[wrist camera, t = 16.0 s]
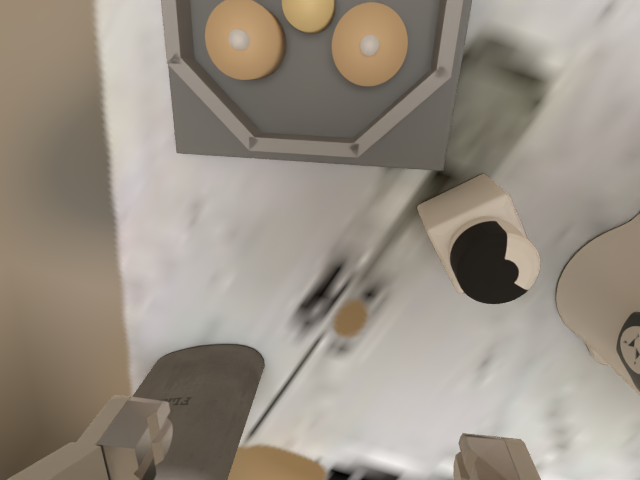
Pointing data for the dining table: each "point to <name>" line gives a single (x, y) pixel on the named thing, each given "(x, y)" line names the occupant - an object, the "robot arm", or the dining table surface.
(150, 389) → the flask
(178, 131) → the grey octagonal tray
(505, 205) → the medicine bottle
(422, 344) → the dining table surface
